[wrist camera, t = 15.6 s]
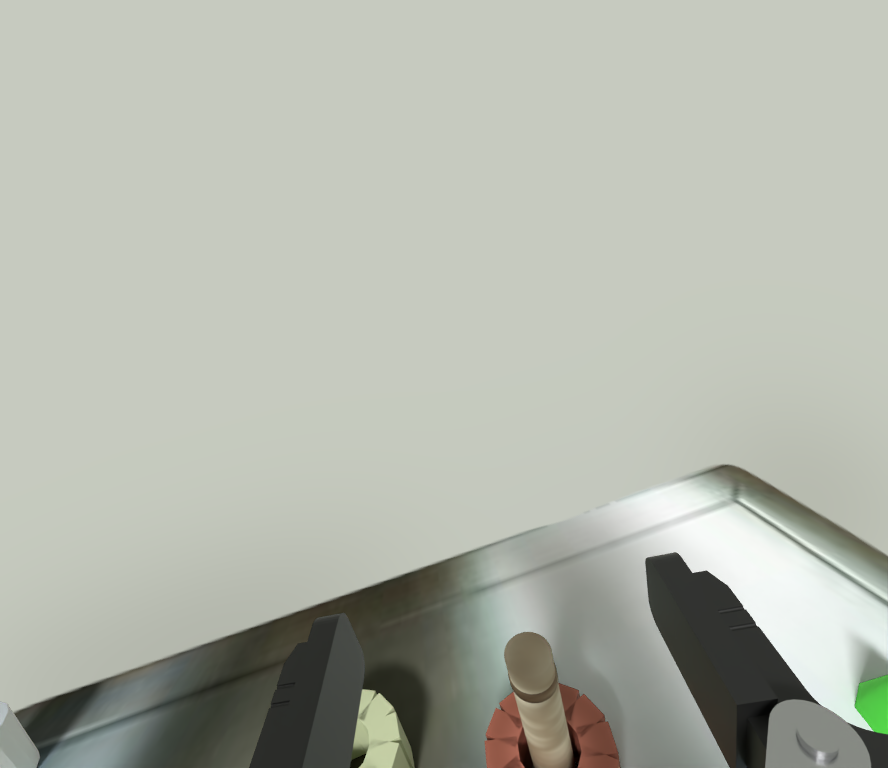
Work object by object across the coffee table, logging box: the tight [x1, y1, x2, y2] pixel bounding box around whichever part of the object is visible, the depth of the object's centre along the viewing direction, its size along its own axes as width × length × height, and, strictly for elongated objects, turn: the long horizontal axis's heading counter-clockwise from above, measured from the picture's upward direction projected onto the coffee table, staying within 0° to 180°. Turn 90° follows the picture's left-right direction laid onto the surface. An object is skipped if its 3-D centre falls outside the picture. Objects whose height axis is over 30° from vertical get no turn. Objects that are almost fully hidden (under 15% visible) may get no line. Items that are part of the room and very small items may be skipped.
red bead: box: [485, 683, 620, 768], centre depth 33 cm, size 9×9×5 cm
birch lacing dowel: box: [504, 632, 576, 768], centre depth 31 cm, size 3×3×15 cm
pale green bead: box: [351, 689, 415, 768], centre depth 36 cm, size 9×9×5 cm
